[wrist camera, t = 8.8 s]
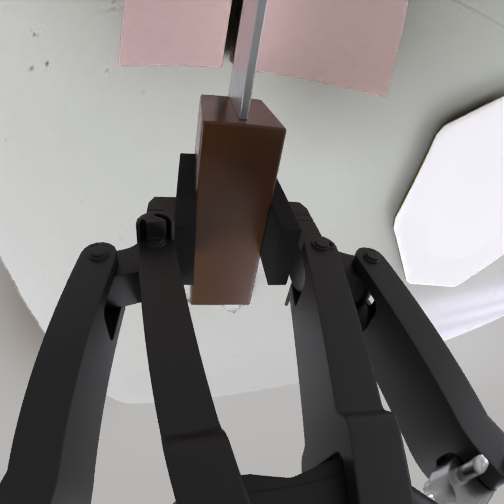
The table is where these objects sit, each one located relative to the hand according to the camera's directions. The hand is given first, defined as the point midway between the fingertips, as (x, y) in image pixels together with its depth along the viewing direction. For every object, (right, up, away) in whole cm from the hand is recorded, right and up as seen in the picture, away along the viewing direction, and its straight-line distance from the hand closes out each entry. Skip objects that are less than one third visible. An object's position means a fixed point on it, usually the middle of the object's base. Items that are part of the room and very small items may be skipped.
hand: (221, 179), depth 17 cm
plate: (+31, +3, +17) cm, 35 cm away
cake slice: (-3, +15, 0) cm, 15 cm away
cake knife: (+1, +7, -5) cm, 8 cm away
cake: (+6, +15, +2) cm, 16 cm away
